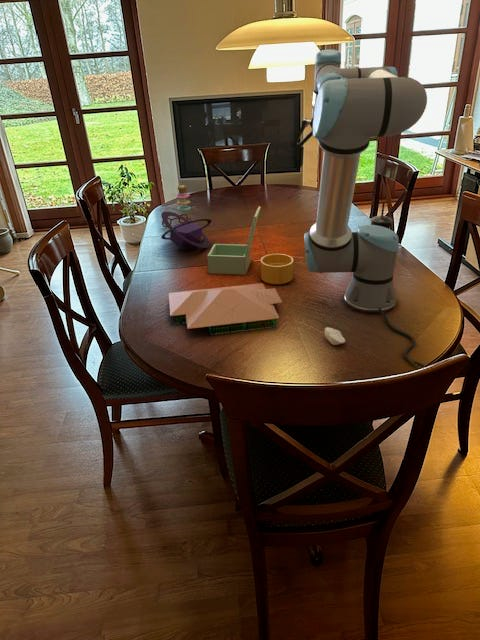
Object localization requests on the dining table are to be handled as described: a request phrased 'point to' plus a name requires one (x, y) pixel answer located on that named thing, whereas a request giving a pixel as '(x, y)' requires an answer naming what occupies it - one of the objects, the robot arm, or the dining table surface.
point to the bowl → (277, 268)
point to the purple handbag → (185, 226)
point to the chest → (228, 259)
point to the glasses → (179, 220)
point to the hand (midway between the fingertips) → (319, 168)
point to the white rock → (334, 336)
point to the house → (225, 306)
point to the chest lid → (252, 230)
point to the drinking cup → (381, 219)
